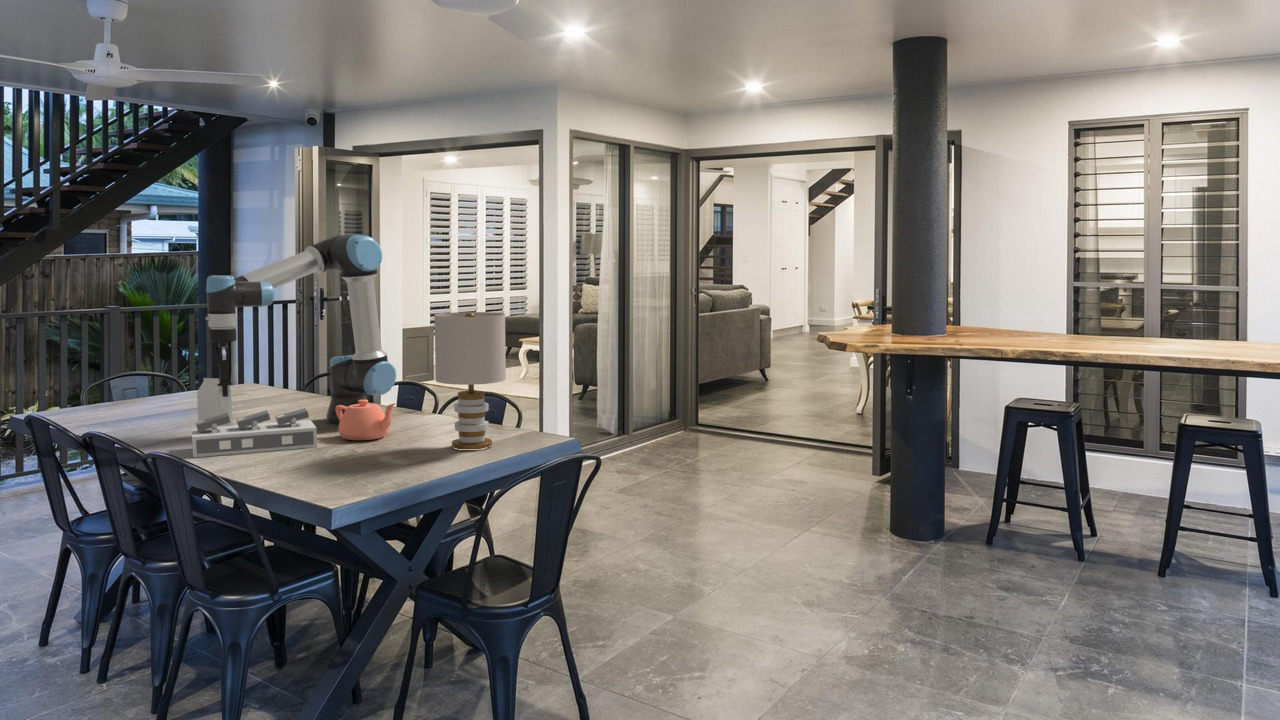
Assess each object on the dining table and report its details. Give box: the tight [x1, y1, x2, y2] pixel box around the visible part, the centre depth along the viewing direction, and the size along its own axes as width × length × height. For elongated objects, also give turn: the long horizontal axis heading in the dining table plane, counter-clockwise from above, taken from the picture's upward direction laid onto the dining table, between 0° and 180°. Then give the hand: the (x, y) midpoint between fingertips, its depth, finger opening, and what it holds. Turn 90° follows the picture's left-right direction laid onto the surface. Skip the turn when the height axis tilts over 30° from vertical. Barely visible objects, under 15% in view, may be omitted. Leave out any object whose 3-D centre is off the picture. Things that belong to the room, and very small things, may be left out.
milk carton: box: [196, 377, 234, 427], centre depth 295 cm, size 7×7×19 cm
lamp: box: [433, 311, 507, 449], centre depth 281 cm, size 21×21×41 cm
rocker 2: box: [274, 408, 310, 425], centre depth 285 cm, size 9×6×3 cm
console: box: [191, 419, 318, 458], centre depth 280 cm, size 34×15×7 cm, turn 116°
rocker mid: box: [236, 409, 271, 429], centre depth 280 cm, size 9×6×3 cm
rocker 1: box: [195, 413, 230, 432], centre depth 275 cm, size 9×6×3 cm
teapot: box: [335, 399, 397, 441], centre depth 295 cm, size 22×15×12 cm
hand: (225, 406), depth 276 cm, fingers closed
